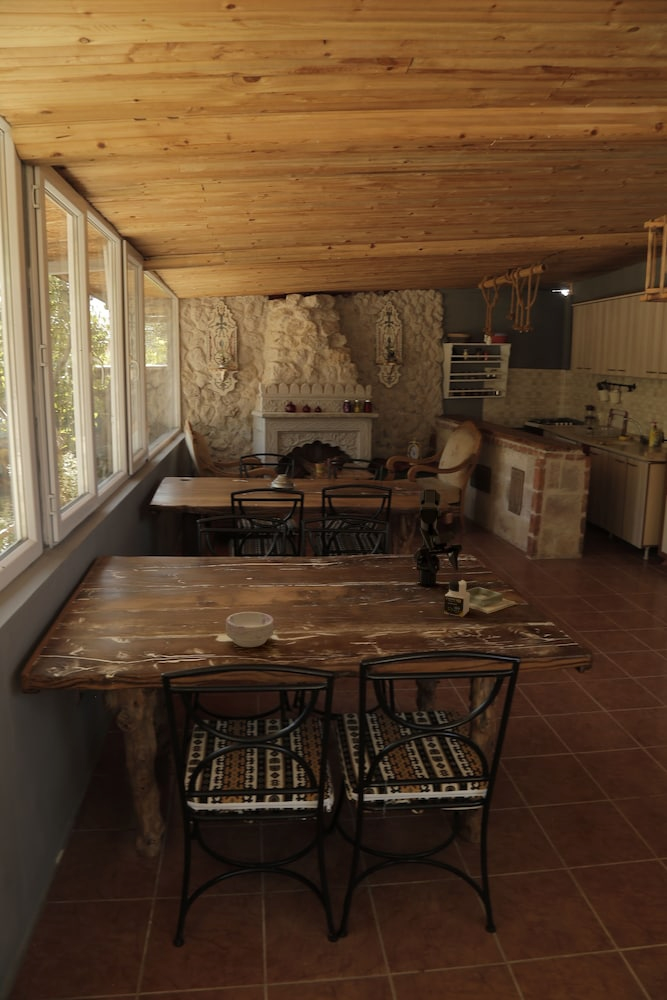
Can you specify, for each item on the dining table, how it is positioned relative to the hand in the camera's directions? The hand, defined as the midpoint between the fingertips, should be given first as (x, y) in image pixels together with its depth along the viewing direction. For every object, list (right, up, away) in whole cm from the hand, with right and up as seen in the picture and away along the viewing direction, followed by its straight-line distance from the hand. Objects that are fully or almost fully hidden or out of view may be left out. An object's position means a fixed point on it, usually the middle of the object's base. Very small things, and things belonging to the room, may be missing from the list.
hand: (446, 572), depth 278 cm
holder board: (+14, -12, +8) cm, 20 cm away
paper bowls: (-68, -19, -34) cm, 79 cm away
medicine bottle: (+3, -14, -4) cm, 15 cm away
